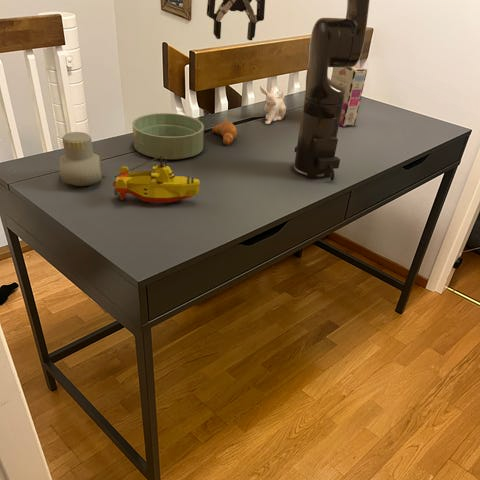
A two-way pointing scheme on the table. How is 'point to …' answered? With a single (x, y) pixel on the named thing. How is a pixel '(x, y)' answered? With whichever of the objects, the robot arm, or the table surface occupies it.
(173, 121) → the bowl
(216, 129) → the croissant
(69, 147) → the air freshener
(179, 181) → the toy boat
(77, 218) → the table surface
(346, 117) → the candy bar box
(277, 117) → the rabbit figurine
